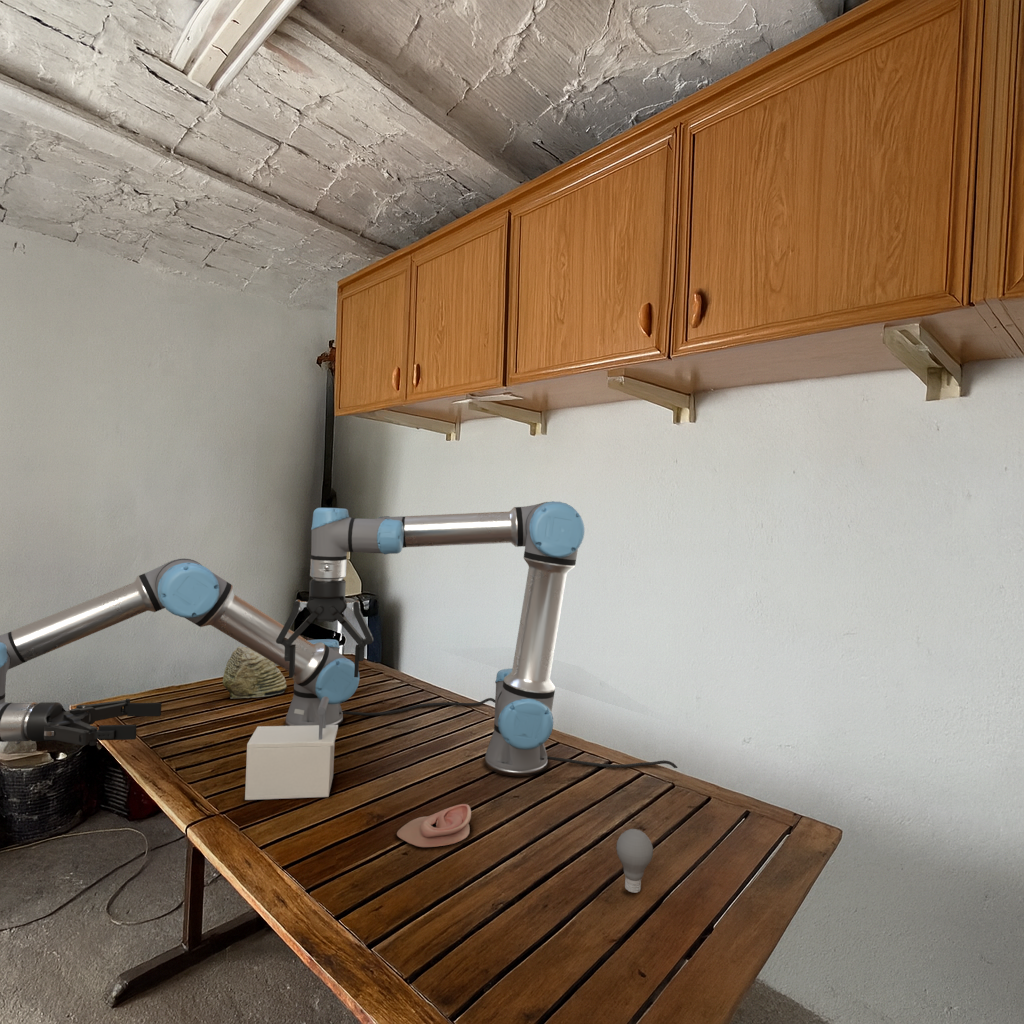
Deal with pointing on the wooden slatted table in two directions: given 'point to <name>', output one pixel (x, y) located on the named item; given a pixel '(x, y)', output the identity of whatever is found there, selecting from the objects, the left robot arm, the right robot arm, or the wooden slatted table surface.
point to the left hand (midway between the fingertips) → (149, 720)
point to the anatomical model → (438, 827)
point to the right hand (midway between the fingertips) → (324, 675)
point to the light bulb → (634, 857)
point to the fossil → (252, 675)
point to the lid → (296, 733)
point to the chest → (289, 772)
